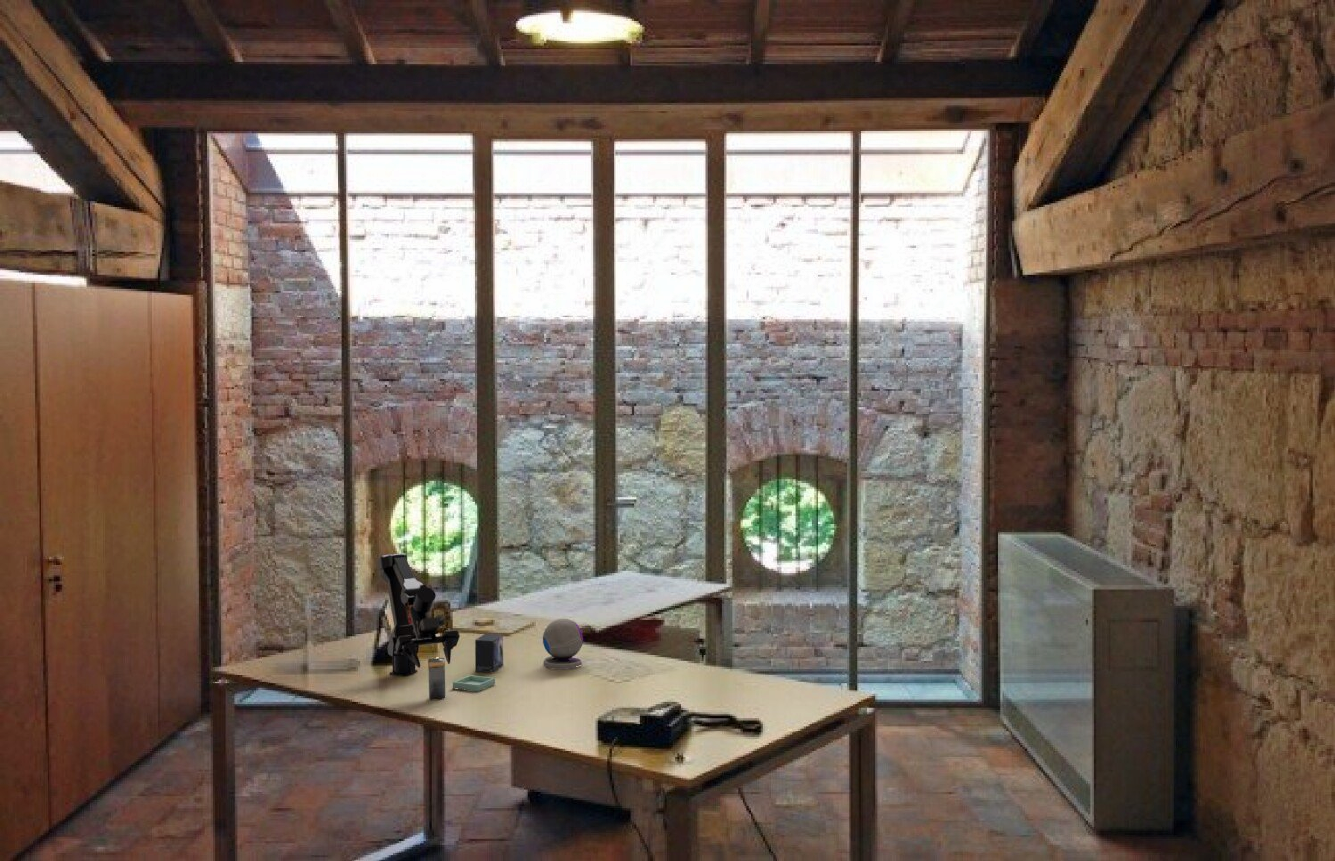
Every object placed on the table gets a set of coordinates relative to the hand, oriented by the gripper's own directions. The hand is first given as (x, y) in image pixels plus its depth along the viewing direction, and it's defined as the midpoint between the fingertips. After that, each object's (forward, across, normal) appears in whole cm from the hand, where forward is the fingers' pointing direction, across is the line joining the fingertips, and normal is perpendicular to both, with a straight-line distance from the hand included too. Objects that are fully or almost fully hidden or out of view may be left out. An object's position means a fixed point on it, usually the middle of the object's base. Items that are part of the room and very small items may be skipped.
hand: (434, 665), depth 430 cm
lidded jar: (+8, 0, +5) cm, 10 cm away
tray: (+3, +14, +10) cm, 17 cm away
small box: (-10, +26, +23) cm, 36 cm away
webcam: (-5, +48, +18) cm, 52 cm away
